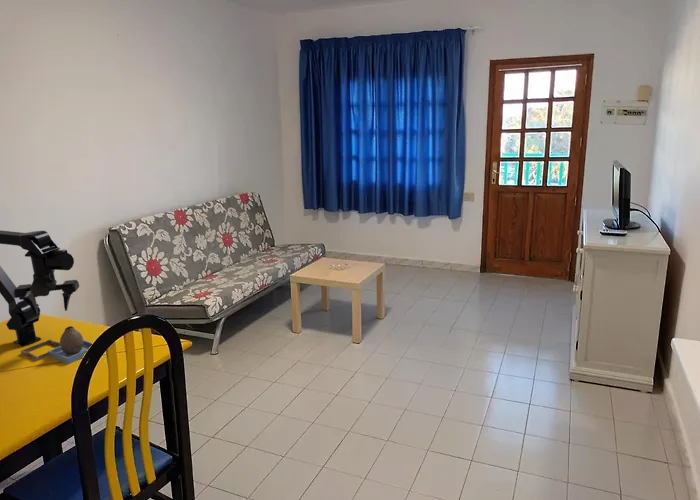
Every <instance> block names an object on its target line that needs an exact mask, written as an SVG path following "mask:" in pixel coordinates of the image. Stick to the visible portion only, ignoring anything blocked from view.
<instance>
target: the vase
mask: <svg viewBox="0 0 700 500" xmlns="http://www.w3.org/2000/svg"><path fill="white" fill-rule="evenodd" d="M84 340H85V339H84V337H83V335H82V333H81V332H80V331H78V330H77V329H76V328H75V327H74V326H73V325H72V326H66V327H65V328H64V331H63V332H62V335H61V336H60V339H59V343H60V346H61V349H62V350H63V351H64V352H65V353H67V354H76V353H78V352H80V351H81V349H82V348H83V344H84Z"/></svg>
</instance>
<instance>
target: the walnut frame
mask: <svg viewBox="0 0 700 500" xmlns="http://www.w3.org/2000/svg"><path fill="white" fill-rule="evenodd" d="M49 344H51V345H54V346H56V347H60V341H59V342H58V341H56V340H53V339H47V340H45V341H42V342H39V343H38V344H35V345H33V346H29V347H27V348H24V349H22V350H20V354H21V355H23V356H26V357H28V358H30V359H33V360H35V361H40V360H43V359H45V358H47V357H49V353H48V352H45V353H43V354H40V355H35V354H33V353H30V352H32V351H34V350H37V349H41V348H42V347H44V346H47V345H49Z"/></svg>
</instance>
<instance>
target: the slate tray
mask: <svg viewBox="0 0 700 500" xmlns="http://www.w3.org/2000/svg"><path fill="white" fill-rule="evenodd" d="M83 340H84V344H83V348H82V349H81V351H80V352H78V353H76V354H67V353H65V352H64V351H63V350H62V349H61V346H60V347H59V346H56V347H55V348H53V349H50V350H47V351H48V353H49V356H48V357H49V358H52V359H54V360H57V361H59V362H62V363H64V364H67V365H70V364H72V363H74V362H77V361H79V360H81V359H83V358H84V357H83V356H84V354H85V353H86V352H87V350H88V349H89V347H90V346H91V345H92V343H93V342H91V341H89V340H85V339H83ZM82 357H83V358H82Z"/></svg>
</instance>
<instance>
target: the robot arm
mask: <svg viewBox="0 0 700 500" xmlns="http://www.w3.org/2000/svg"><path fill="white" fill-rule="evenodd" d="M0 245H6V246H7V245H10V246H17V247H20V248H21V249H23V250H25V251H27V252H25V253H24V257H27V258H29V257H30V260H31V265H32V266H31V267H32V270H33V275H32V278H33V279H32V283H29V284H28V283H27V284H19V285H18V286H16V284H15V283H14V281H12V280H11V279H12V278H10V277H9V276H8V274H7V273H6V271H5V270H4V268H3V267H2V266H1V265H0V295H1V296H2V297H3V299H4V300H5V301H6V303H7V304H8V314H9V316H10V318H9V320H8V321H7V322H6V323H5V325H6V326H7V329H8V330H10V331H15V336H16V339H15V340H14V341H13V344H15V345H19V346H21V347H24V346H27V345H30V344H33V343H35V342H38V341H40V340H42V338H41V337H39V336H37V334H36V329H35V323H37V322H39V321H40V316H41V309H40V307H39V306H40V304H38V303H37V300H36V298H39V297H47V296H49V294H50V292H52V291H53V292H54V291H61V290H62V294H61V296H62V297H63V307H64V308H63V309H64V311H65V312H66V311H68V308H69V303H70V299H71V297H72V296H71V295H73V293H75V292H77V290H78V289H79V288H80V284H79V281H78V280H77V279H71V280H70V279H69V280H65V281H64V282H63V283H59V284H57V279H56V278H55V277H56V276H55V271H70V270H71V269H72V268H73V266H74V263H75V258H74V257H73V255H72V254H71V253H69V252H68V250H67V249H61V248H60V246H59V245H58V243H56V241H55V240H54V239H53V238H52V236H51V235H50V234H49V233H48V232H47V231H46V230H35V231H30V232H19V231H9V230H0Z"/></svg>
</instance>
